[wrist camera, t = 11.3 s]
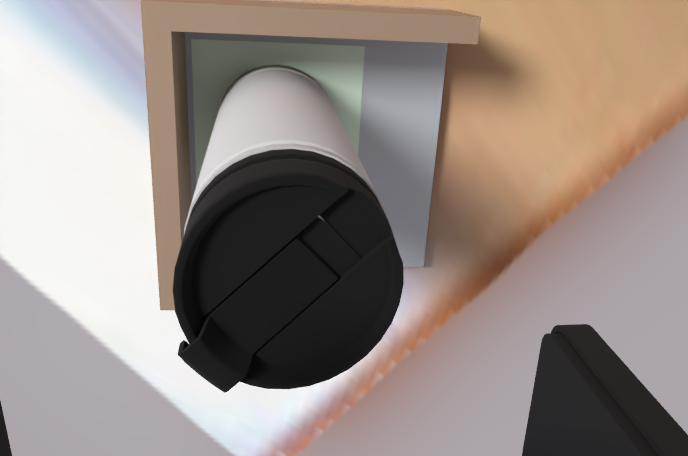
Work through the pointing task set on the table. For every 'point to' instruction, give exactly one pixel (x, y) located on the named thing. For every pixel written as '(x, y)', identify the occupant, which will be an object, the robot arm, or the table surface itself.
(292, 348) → the travel mug
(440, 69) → the box
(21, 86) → the table surface
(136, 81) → the table surface
